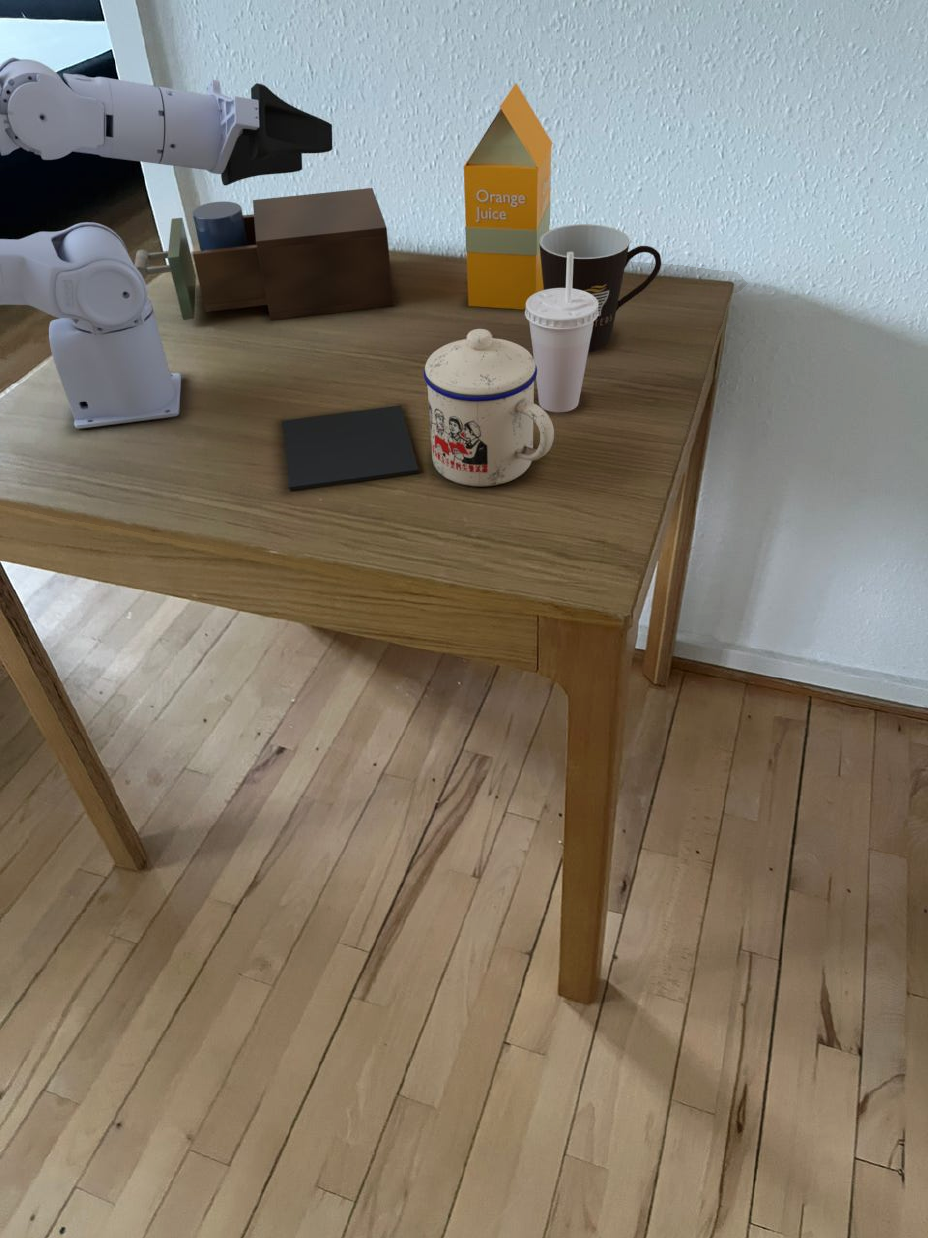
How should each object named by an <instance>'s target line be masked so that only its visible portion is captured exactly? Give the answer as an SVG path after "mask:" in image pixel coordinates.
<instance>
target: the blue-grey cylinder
mask: <svg viewBox="0 0 928 1238" xmlns="http://www.w3.org/2000/svg"><path fill="white" fill-rule="evenodd" d="M191 214H192V215H191V216H192V219H193V224H194V228H195V233H196V238H197V242H198V246H199V251H204V250H213V249H222V248H232V247H241V246H249V245H248V240H247V234H246V229H245V224H244V218H243V215H244V214H243V208H242V206H241V204H239V203H237V202H233V201H214V202H208V203H204V204H201V205H199V206H196V207H195V208H194V209H193V210H192V212H191Z"/></svg>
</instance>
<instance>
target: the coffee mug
mask: <svg viewBox="0 0 928 1238" xmlns="http://www.w3.org/2000/svg"><path fill="white" fill-rule="evenodd" d="M630 243H631V241H630V238H629V236H628V235H627V234H626V233H624V232H623V231H621V230H619V229H616V228H614V227H610V226H606V225H601V224H592V223H591V224H589V223H587V224H586V223H579V224H569V225H563V226H558V227H555V228H552V229H549V231H548V232H546V233H544V234H543V235H542V236H541V238H540V240H539V245H540V256H541V266H542V277H543V288H544V290H547V289H553V288H566V269H567V252H573V253H574V259H573V283H572V289H578V290H582V291H585V292H588V293H590V294H591V295H593V296H594V297H595V298H596V299H597V300H598V303H599V305H598V313H599V315H598V317H597V319H596V320H595V321H594V323H593V328H592V334H591V339H590V344H589V350H588V354H589V353H594V352H597V351H600V350H602V349H604V348H606V347H608V346H609V344H610V342H611V339H612V334H613V330H614V324H615V319H616V314H617V312H618V310H619V309H620V308H621V307H622V306H624V305H625V304H626V303H628V302H629V301H631V300H632V299H633V298H635V297H636V296H637V295H639V294H640V293H641V292H643V291H644V290H645V289H646V288H647V287H648V286H649V285H650V284H651V283H652V282H653V281H654V280H655V278H656V277H657V275H658V274H659V272H660V271H661V267H662V259H661V258H662V257H661V254H660V252H659V251H658V250H657V249H655V248H654V247H653V246H649V245H639V246H636V247H634V248H632V249H630V250H629V248H630ZM641 253H642V254H643V253H648V254H650V255H652V256H653V257H654V261H655V263H654V267H653V270H652V271H651V273H650V274H649V275H648V276H647V278H646V279H645V280H644V281H643V282H642V283H641V284H639V285H638V286H636V287H635V288H634V289H633V290H631V291H629V292H628V293H627V294H626V295H625V296H623V297H621V298H620V295H621V289H622V283H623V278H624V274H625V269H626V268H627V266H628V264H629V262H630V261H631V260H632V259H633V258H634V257H635V256H637V255H638V254H639V255H640V254H641Z"/></svg>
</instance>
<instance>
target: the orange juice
mask: <svg viewBox="0 0 928 1238" xmlns="http://www.w3.org/2000/svg"><path fill="white" fill-rule="evenodd" d="M553 145H554V144H553V141H552V140H551V138H550V136H549V135H548V132H547V131H546V130H545V127H543V125H542V123H541V122H540V119H539V118H538V117H537V114H536V113H535V112H534V110H533V108H532V106H531V105H530V103H529V102H528V100H527V98H526V97H525V95H524V93H523V92H522V91H521V88H520V87H519V85H518V83H517V82H515V84H514V85H513V87H512V88H511V89H510V91H509V92H508V94H506V97H505V98H504V100H503V101H502V102H501V104H500V105H499V110H498V112H497V114H496V115H495V117H494V118H493V119H492V121H491V123H490V125H489V127H488V128H487V130H486V132H485V133H484V134H483V136H482V137H481V139H480V140H479V142H478V144H477V146H476V147H475V149H474V150H473V151H472V153H471V155H470V156H469V157H468V159H467V161H466V162H465V163H464V165H463V189H464V215H465V217H464V219H465V226H464V227H465V228H464V233H465V252H466V275H467V277H466V278H467V302H468V304H467V305H468V307H476V308H477V307H480V308H495V309H509V310H511V309H512V310H523V311H525V310H526V301H527V299H528V298H529V297H530V296H532V295H533V294H535V293H537V292H540V291H543V290H544V288H543V277H542V266H541V256H540V245H539V240H540V238H541V236H542V235H543V234H544V233H546V232H548V231H550V226H551V180H552V147H553Z"/></svg>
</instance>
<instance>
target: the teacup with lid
mask: <svg viewBox="0 0 928 1238" xmlns="http://www.w3.org/2000/svg"><path fill="white" fill-rule="evenodd" d="M536 375H537V366H536V364H535V361H534V357H533V354H531V353H530V351H528V349H526V348H525V347H524V346H522V345H520V344H518V343H515V342H513V341H510V340H507V339H502V338H496V337H495V338H494V337H493V334H492V333H491V332H490V330H488V329H485V328H476V329H472V330H470V331H469V332H468V333H467V335H466V338H463V339H458V340H455V341H452V342H449V343H447V344H445V345H443V346H441V347H439V348H438V349H436V350H435V351H433V353H432V354H431V355H430V356H429V357H428V359H427V361H426V362H425V365H424V369H423V379H424V382H425V383H426V385H427V398H428V412H429V413H428V414H429V415H428V416H429V428H430V429H429V430H430V441H431V457H432V462H433V463H432V464H433V466H434V468H435V469H436V471H437V472H438V473H439V475H441V476H442V477H444V478H445V479H447V480H449V481H451V482H454V483H456V484H459V485H464V486H469V487H493V486H498V485H502V484H506V483H509V482H511V481H513V480H516V479H517V478H519V477H520V476H522V475H523V474H524V473H525V472H526V471H527V470H528V469H529V467H530V466H531V464H532V463H533V461H537V460H540V459H541V458H544V456H545V455H547V454H548V452H549V451H550V450H551V448H552V445H553V443H554V438H555V431H554V430H555V429H554V424H553V421H552V420H551V418H550V416H549V414H548V413H547V411H546V410H545V409H543V408H542V407H541V406H540V405H539V404H536V403H534V400H535V381H536ZM534 423H535V425H536V427H537V428H538V430H539V444H538V446H537V448H534Z"/></svg>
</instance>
